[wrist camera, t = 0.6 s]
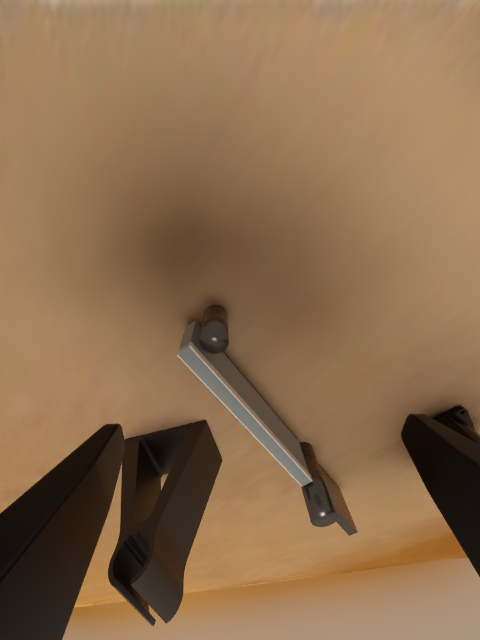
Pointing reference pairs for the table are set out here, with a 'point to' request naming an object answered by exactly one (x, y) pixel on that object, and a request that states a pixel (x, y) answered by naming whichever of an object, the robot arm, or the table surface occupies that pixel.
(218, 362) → the grey flat bar
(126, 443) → the phone stand
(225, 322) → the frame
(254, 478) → the table surface
